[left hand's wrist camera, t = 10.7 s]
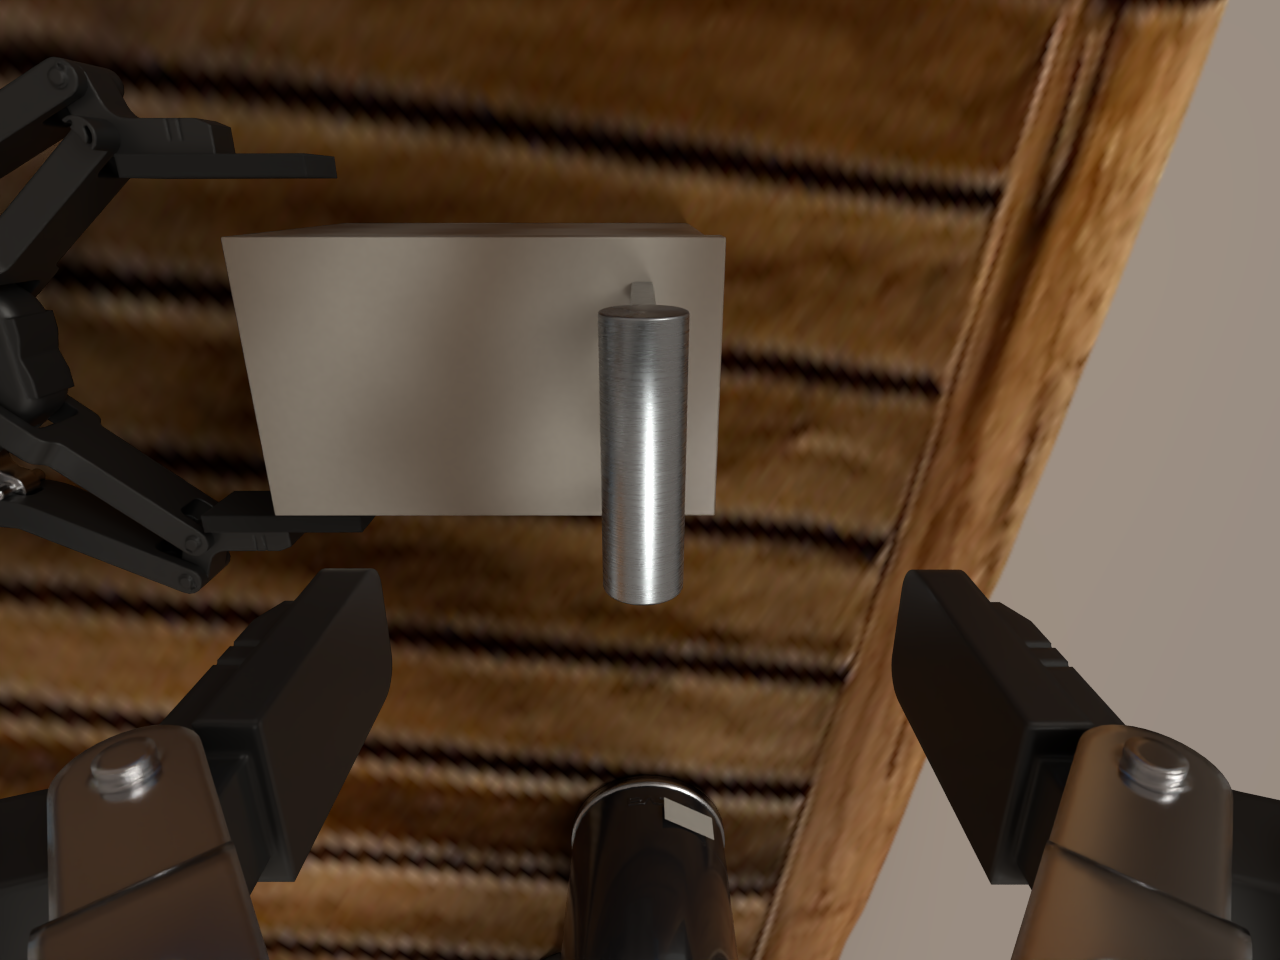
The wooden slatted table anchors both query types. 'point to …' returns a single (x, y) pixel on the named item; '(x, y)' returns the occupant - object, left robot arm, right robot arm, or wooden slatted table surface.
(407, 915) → the wooden slatted table surface
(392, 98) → the wooden slatted table surface
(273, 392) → the grey piece
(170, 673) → the wooden slatted table surface
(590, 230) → the chest
